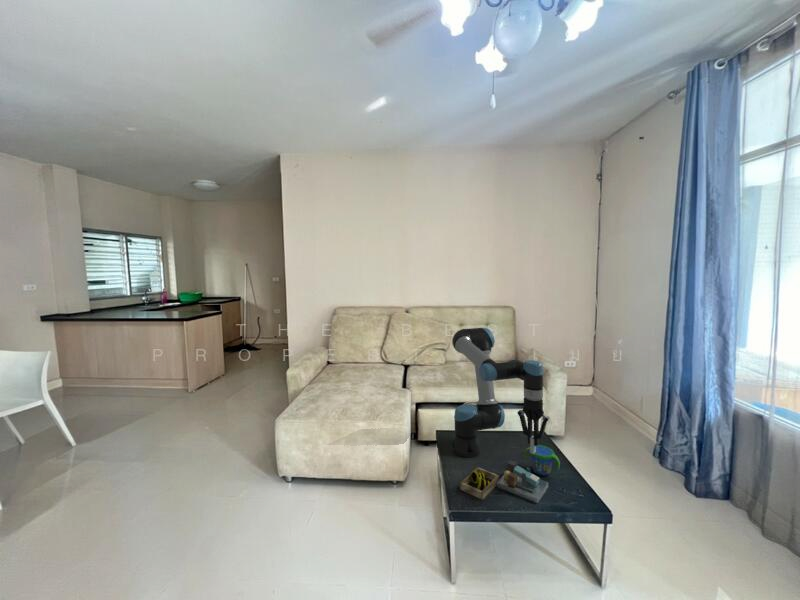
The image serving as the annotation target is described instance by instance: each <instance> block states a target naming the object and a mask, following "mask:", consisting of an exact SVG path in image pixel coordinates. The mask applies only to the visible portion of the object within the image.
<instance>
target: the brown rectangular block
mask: <svg viewBox="0 0 800 600" xmlns="http://www.w3.org/2000/svg"><path fill="white" fill-rule="evenodd" d="M508 485H511V486H513V487H515V486H516V485H517V474H514V473H512V472H510V473H509V474H508Z"/></svg>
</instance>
